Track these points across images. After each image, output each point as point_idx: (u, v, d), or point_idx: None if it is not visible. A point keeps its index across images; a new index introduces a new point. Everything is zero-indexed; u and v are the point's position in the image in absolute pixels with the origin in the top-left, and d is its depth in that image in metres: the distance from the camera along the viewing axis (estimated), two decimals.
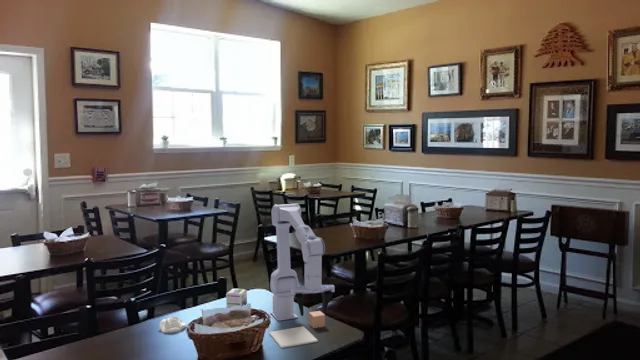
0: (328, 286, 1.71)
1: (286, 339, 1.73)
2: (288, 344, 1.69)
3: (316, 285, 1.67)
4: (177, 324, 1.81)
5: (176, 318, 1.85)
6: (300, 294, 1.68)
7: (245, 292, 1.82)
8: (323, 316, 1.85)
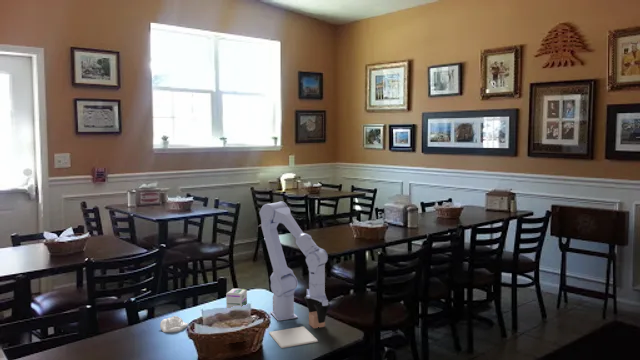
0: (322, 299, 1.81)
1: (286, 339, 1.73)
2: (288, 344, 1.69)
3: (310, 292, 1.84)
4: (178, 324, 1.82)
5: (177, 318, 1.85)
6: None
7: (245, 292, 1.82)
8: None
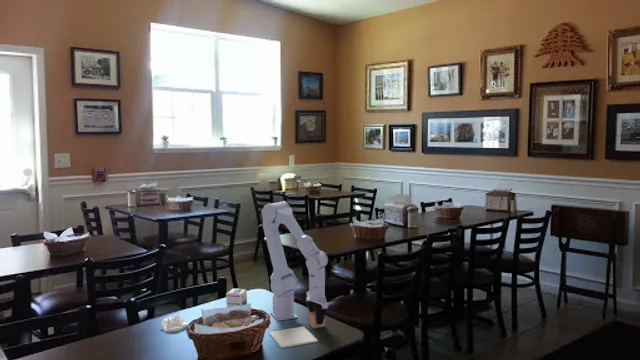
0: (322, 301, 1.81)
1: (286, 339, 1.73)
2: (288, 344, 1.69)
3: (310, 294, 1.84)
4: (179, 323, 1.82)
5: (178, 317, 1.86)
6: None
7: (245, 292, 1.82)
8: None
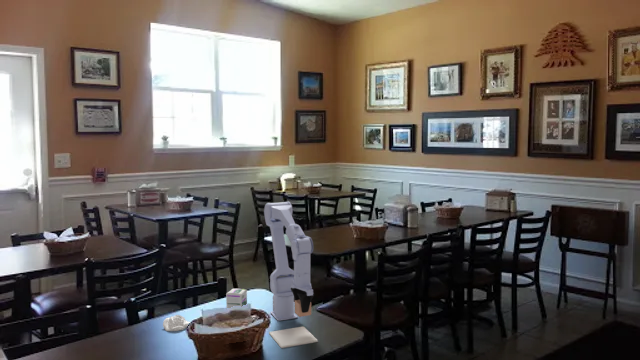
0: (307, 288, 1.73)
1: (286, 339, 1.73)
2: (288, 344, 1.69)
3: (295, 281, 1.76)
4: (181, 322, 1.83)
5: (180, 316, 1.86)
6: None
7: (245, 292, 1.82)
8: None
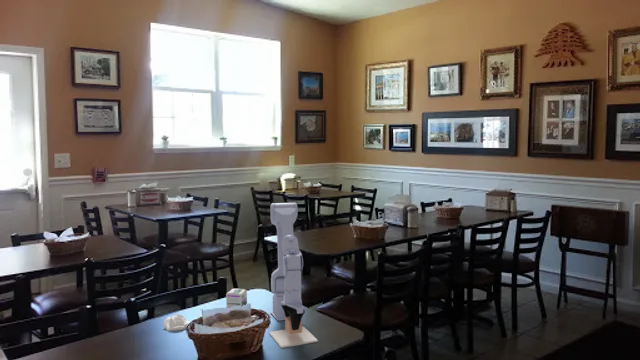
0: (297, 306, 1.69)
1: (286, 339, 1.73)
2: (288, 344, 1.69)
3: (285, 298, 1.73)
4: (181, 322, 1.83)
5: (180, 316, 1.87)
6: None
7: (245, 292, 1.82)
8: None
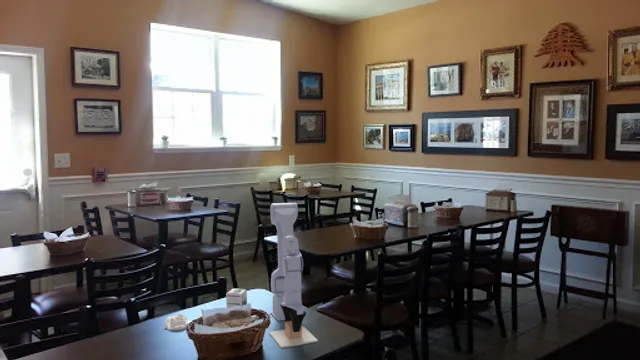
0: (297, 307, 1.69)
1: (286, 339, 1.73)
2: (288, 344, 1.69)
3: (285, 299, 1.73)
4: (182, 322, 1.84)
5: (181, 316, 1.87)
6: None
7: (245, 292, 1.82)
8: None
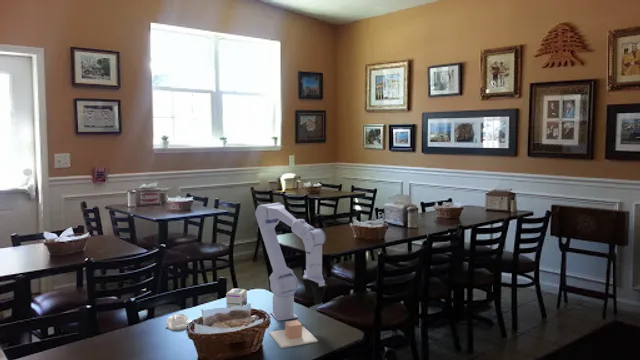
0: (319, 279, 1.77)
1: (286, 339, 1.73)
2: (288, 344, 1.69)
3: (307, 272, 1.81)
4: (184, 321, 1.84)
5: (183, 315, 1.88)
6: None
7: (245, 292, 1.82)
8: (300, 326, 1.74)
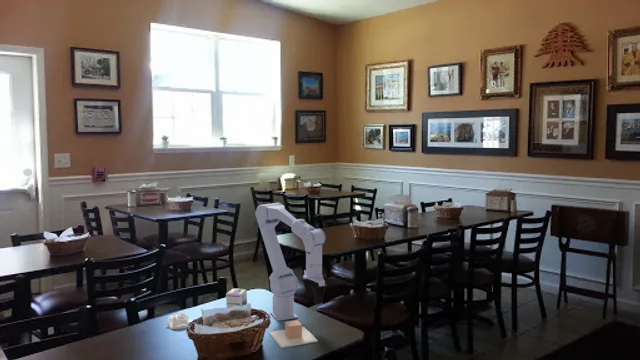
0: (319, 279, 1.77)
1: (286, 339, 1.73)
2: (288, 344, 1.69)
3: (307, 272, 1.81)
4: (185, 321, 1.85)
5: (183, 315, 1.88)
6: None
7: (245, 292, 1.82)
8: (300, 326, 1.74)
